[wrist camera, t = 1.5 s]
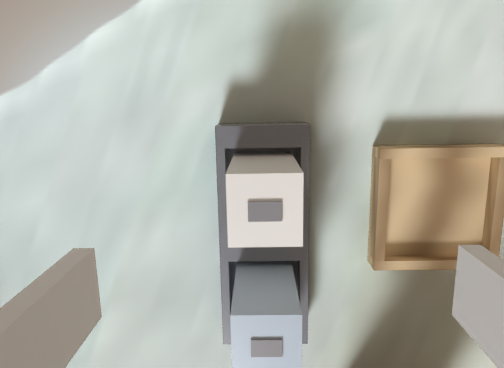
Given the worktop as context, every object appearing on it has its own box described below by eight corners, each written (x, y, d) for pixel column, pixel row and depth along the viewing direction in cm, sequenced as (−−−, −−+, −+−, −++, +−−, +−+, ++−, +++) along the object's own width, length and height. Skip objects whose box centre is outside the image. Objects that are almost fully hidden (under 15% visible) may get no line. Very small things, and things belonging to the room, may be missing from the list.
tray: (367, 260, 35) (374, 270, 33) (372, 145, 33) (380, 148, 31) (483, 259, 35) (497, 268, 33) (496, 143, 32) (511, 146, 31)
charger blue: (238, 307, 35) (232, 379, 26) (237, 258, 34) (230, 316, 25) (290, 306, 35) (302, 379, 26) (290, 258, 34) (302, 316, 25)
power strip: (302, 394, 38) (307, 425, 34) (228, 395, 38) (225, 426, 34) (305, 122, 32) (311, 125, 29) (218, 123, 32) (214, 127, 29)
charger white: (235, 207, 33) (227, 248, 24) (234, 152, 32) (225, 174, 23) (290, 206, 33) (303, 247, 24) (290, 151, 32) (303, 173, 23)
